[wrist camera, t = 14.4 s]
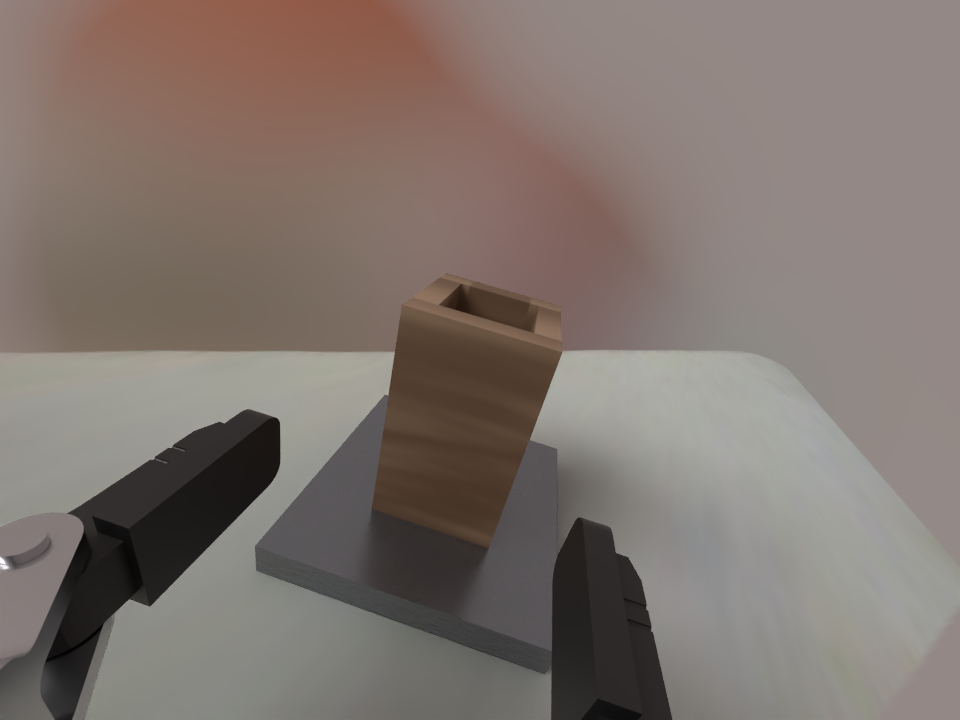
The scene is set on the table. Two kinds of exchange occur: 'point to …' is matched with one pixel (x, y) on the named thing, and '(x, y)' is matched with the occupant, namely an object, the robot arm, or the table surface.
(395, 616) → the base plate
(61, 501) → the table surface
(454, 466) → the sleeve
